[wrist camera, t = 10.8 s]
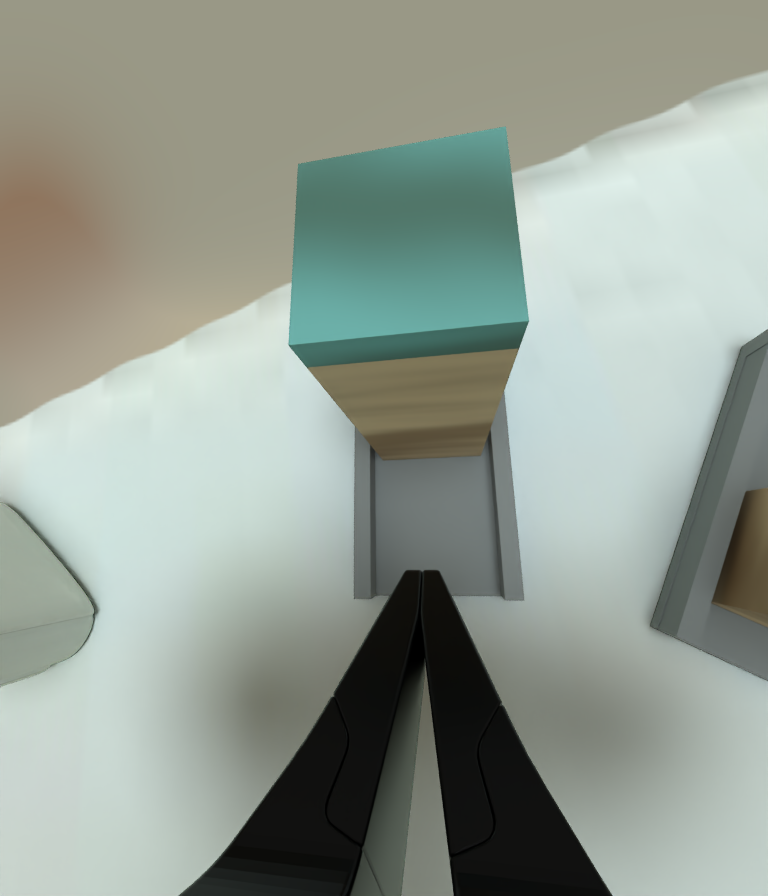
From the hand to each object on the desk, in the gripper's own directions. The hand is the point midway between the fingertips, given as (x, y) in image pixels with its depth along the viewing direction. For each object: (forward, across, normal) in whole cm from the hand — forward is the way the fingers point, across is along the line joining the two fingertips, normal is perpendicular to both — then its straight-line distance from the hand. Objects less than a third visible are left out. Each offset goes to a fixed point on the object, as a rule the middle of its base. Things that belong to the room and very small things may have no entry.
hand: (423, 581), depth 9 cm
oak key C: (+10, 0, 0) cm, 10 cm away
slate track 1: (+9, 0, +2) cm, 10 cm away
